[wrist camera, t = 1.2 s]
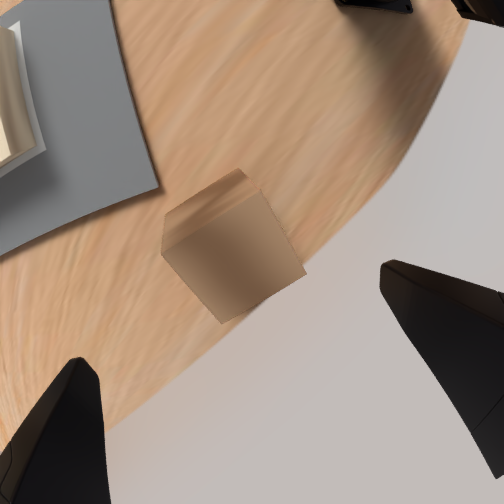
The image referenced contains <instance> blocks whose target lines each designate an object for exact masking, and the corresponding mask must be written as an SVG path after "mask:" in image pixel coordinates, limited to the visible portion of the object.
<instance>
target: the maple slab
mask: <svg viewBox="0 0 504 504" xmlns="http://www.w3.org/2000/svg"><path fill="white" fill-rule="evenodd" d="M35 146H37V144H36V141H35V137H34V134H33V130H32V127H31V123H30V119H29V116H28V112H27V108H26V103H25V99H24V95H23V90H22V85H21V80H20V74H19V69H18V62H17V56H16V48H15V39H14V31H13V30H10V29H7V28H4V27H1V26H0V169H1V168H2V167H4V166H5V165H7V164H8V163H10V162H11V161H13V160H14V159H16V158H17V157H19V156H21V155H22V154H24V153H25V152H27V151H29V150H30V149H32V148H34V147H35Z"/></svg>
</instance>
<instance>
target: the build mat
mask: <svg viewBox="0 0 504 504" xmlns="http://www.w3.org/2000/svg"><path fill="white" fill-rule="evenodd" d="M0 26H1V27H4V28H7V29H10V30H13V31H14V39H15V48H16V56H17V62H18V69H19V74H20V80H21V85H22V90H23V95H24V99H25V103H26V108H27V112H28V116H29V119H30V123H31V127H32V130H33V134H34V137H35V141H36V144H37V146H35V147H34V148H32V149H30V150H29V151H27V152H25V153H24V154H22V155H21V156H19V157H17V158H16V159H14V160H13V161H11V162H10V163H8V164H7V165H5V166H4V167H2V168H1V169H0V256H1V255H3V254H4V253H6V252H8V251H10V250H12V249H14V248H16V247H18V246H20V245H22V244H24V243H26V242H28V241H30V240H32V239H34V238H36V237H38V236H40V235H42V234H44V233H47V232H49V231H51V230H53V229H55V228H57V227H60V226H62V225H64V224H66V223H69V222H71V221H73V220H75V219H78V218H80V217H82V216H85V215H87V214H90V213H92V212H94V211H97V210H99V209H102V208H104V207H107V206H109V205H112V204H114V203H117V202H120V201H122V200H125V199H128V198H130V197H133V196H136V195H138V194H141V193H144V192H147V191H149V190H152V189H155V188H158V187H159V183H158V180H157V177H156V174H155V171H154V168H153V165H152V162H151V158H150V155H149V152H148V149H147V146H146V143H145V139H144V136H143V133H142V129H141V126H140V123H139V119H138V116H137V112H136V109H135V105H134V102H133V98H132V94H131V91H130V87H129V83H128V79H127V75H126V72H125V68H124V64H123V59H122V55H121V51H120V47H119V43H118V38H117V34H116V29H115V24H114V20H113V15H112V10H111V4H110V0H24V1H22V2H20V3H19V4H17V5H16V6H14V7H13V8H12V9H10V10H9V11H7V12H6V13H4V14H3V15H2V16H0Z"/></svg>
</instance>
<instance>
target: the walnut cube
mask: <svg viewBox="0 0 504 504" xmlns="http://www.w3.org/2000/svg"><path fill="white" fill-rule="evenodd" d="M161 255H162V256H163V257H164V259H165V260H166V261H167V262H168V263H169V265H170V266H171V267H172V268H173V269H174V271H175V272H176V273H177V274H178V275H179V277H180V278H181V279H182V280H183V281H184V282H185V284H186V285H187V286H188V287H189V288H190V289H191V290H192V292H193V293H194V294H195V295H196V296H197V297H198V298H199V300H200V301H201V302H202V303H203V304H204V305H205V306H206V307H207V309H208V310H209V311H210V312H211V313H212V314H213V315H214V316H215V317H216V318H217V320H218V321H219V322H220V323H221V324H223V323H225V322H227V321H229V320H230V319H232V318H234V317H236V316H237V315H239V314H241V313H243V312H244V311H246V310H248V309H250V308H251V307H253V306H255V305H256V304H258V303H260V302H261V301H263V300H265V299H267V298H268V297H270V296H272V295H273V294H275V293H277V292H278V291H280V290H281V289H283V288H285V287H286V286H288V285H290V284H291V283H293V282H295V281H296V280H298V279H300V278H301V277H303V276H304V275H306V274H307V273H306V271H305V270H304V268H303V266H302V264H301V262H300V260H299V258H298V257H297V255H296V253H295V251H294V249H293V247H292V245H291V244H290V242H289V240H288V238H287V236H286V234H285V233H284V231H283V229H282V227H281V225H280V224H279V222H278V220H277V218H276V216H275V215H274V213H273V211H272V209H271V208H270V206H269V204H268V202H267V200H266V199H265V197H264V195H263V193H262V192H261V190H260V189H259V188H258V187H257V186H256V185H255V184H254V183H253V182H252V181H251V180H250V179H249V178H248V177H247V176H246V175H245V174H244V173H243V172H242V171H241V170H240V169H239V168H237V169H236V170H234V171H232V172H231V173H229V174H227V175H226V176H224V177H222V178H221V179H219V180H218V181H216V182H214V183H213V184H211V185H210V186H208V187H207V188H205V189H203V190H202V191H200V192H199V193H197V194H196V195H194V196H193V197H191V198H189V199H188V200H186V201H185V202H183V203H182V204H180V205H179V206H177V207H176V208H174V209H173V210H171V211H170V212H168V213H167V214H166V215H165V220H164V228H163V237H162V246H161Z"/></svg>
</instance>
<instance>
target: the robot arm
mask: <svg viewBox="0 0 504 504" xmlns="http://www.w3.org/2000/svg"><path fill="white" fill-rule="evenodd" d="M335 2H336V3H337V4H338V5H340V6H345V7H358V8H368V9H376V10H383V11H390V12H396V13H402V14H411V13H413V8H412V4H411V1H410V0H345V1H343V0H335ZM451 2H452V3H453V4H454V5H455V7H456V8H457V11H458V13H459V14H460V15H461V17H462V18H465V19H470V20H475V21H480V22H485V23H488V24H492V25H496V26H499V27H503V28H504V0H451ZM406 8H407V9H406ZM380 291H381V293H382V295H383V297H384V299H385V300H386V302H387V303H388V305H389V307H390V309H391V310H392V312H393V314H394V315H395V317H396V319H397V321H398V322H399V324H400V326H401V327H402V329H403V331H404V332H405V334H406V335H407V337H408V338H409V340H410V341H411V342H412V344H413V345H414V347H415V348H416V349H417V351H418V352H419V354H420V355H421V357H422V358H423V359H424V361H425V362H426V364H427V365H428V367H429V368H430V369H431V371H432V373H433V374H434V376H435V377H436V379H437V380H438V382H439V383H440V385H441V386H442V388H443V389H444V391H445V392H446V394H447V395H448V397H449V399H450V400H451V402H452V403H453V405H454V407H455V408H456V410H457V411H458V413H459V415H460V416H461V418H462V419H463V421H464V423H465V425H466V426H467V428H468V430H469V431H470V432H471V435H472V437H473V439H474V440H475V442H476V444H477V446H478V447H479V449H480V451H481V453H482V455H483V457H484V458H485V460H486V462H487V464H488V466H489V468H490V470H491V472H492V474H493V475H494V477H495V478H496V479H497V478H499V477H501V476H502V475H504V293H501V292H499V291H498V292H497V291H496V290H493V289H490V288H486V287H483V286H480V285H477V284H474V283H471V282H467V281H464V280H461V279H458V278H455V277H451V276H448V275H445V274H442V273H438V272H435V271H431V270H429V269H425V268H422V267H419V266H415V265H412V264H408V263H405V262H402V261H398V260H390V261H387V262H385V263H383V264H382V265H381V268H380ZM0 504H111V499H110V493H109V484H108V476H107V465H106V453H105V438H104V421H103V412H102V403H101V394H100V382H99V378H98V375H97V374H96V372H95V371H94V370H93V369H92V368H91V366H90V365H89V364H88V363H87V362H86V360H85V359H84V358H82V357H77V358H72V359H70V360H69V361H68V362H67V364H66V365H65V366H64V367H63V369H62V370H61V371H60V372H59V374H58V375H57V376H56V378H55V379H54V380H53V382H52V383H51V384H50V385H49V387H48V388H47V389H46V391H45V392H44V393H43V395H42V396H41V397H40V399H39V400H38V402H37V403H36V404H35V406H34V407H33V408H32V410H31V411H30V413H29V414H28V415H27V417H26V418H25V420H24V421H23V422H22V424H21V425H20V427H19V428H18V430H17V431H16V433H15V434H14V436H13V437H12V439H11V441H9V443H8V445H7V446H6V448H5V449H4V451H3V452H2V454H1V455H0Z"/></svg>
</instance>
